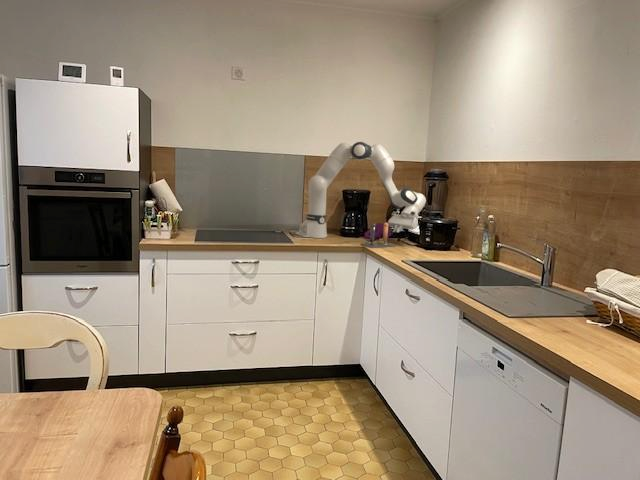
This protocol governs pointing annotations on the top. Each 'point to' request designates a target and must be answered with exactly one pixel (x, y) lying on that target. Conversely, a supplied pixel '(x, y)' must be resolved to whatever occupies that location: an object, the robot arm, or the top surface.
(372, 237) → the fixed leg
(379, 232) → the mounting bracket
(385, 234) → the sliding leg
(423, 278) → the top surface
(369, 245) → the hole plate
